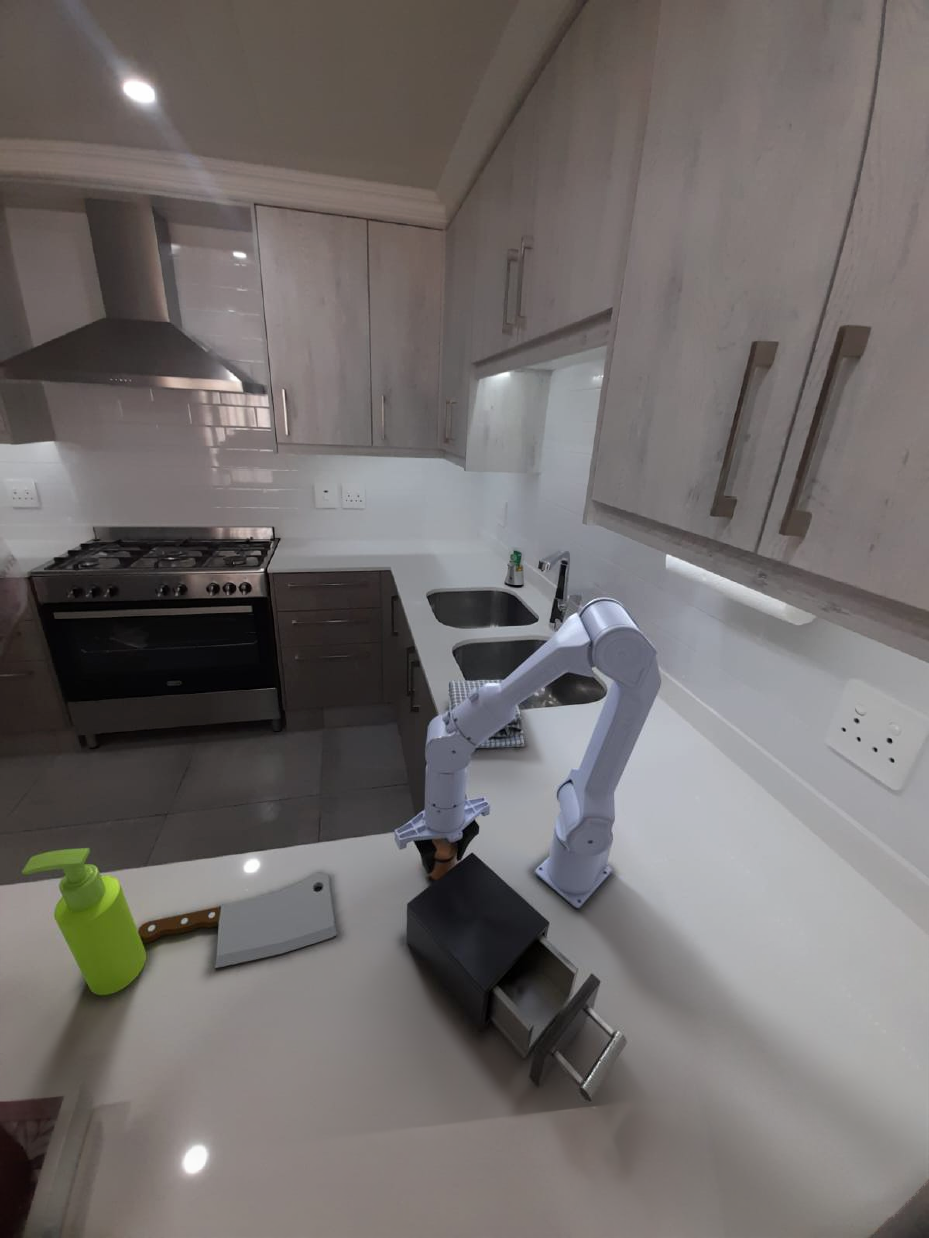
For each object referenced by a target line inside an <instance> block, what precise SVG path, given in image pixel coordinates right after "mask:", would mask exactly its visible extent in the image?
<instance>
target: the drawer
mask: <svg viewBox="0 0 929 1238" xmlns="http://www.w3.org/2000/svg"><path fill="white" fill-rule="evenodd" d="M578 972H579V968H578V967H577V966H576V965H575V964H574V963H573V962H571V961H570V960H569V959H568V958H567V957H566V956H565V955H564V954H563V953H562V952H561V951H560V950H559V949H558V948H556V946H555V945H554V944H553V943H551V942H550V941H549V940H548V938H545V937H544V936H543V935H542V934H541V935H540V936H539V938H538V939H537V940H536V941H535V942H534V943H533V944H532V945H531V946H530V947H529V948H528V950H527V951H526V952H525V953H524V954H523V955H522V956H521V957H520V958H519V959H518V960H517V962H516V963H515V964H514V965H513V966H512V967H511V968H510V969H509V970H508V971H507V972H506V973H505V975H504V976H503V977H502V978H501V979H500V980H499V981H498V982H497V983H496V984H495V985H494V987H493V988H492V989H491V990H490V991H489V995H488V1003H487V1011H486V1015H487V1016H488V1017H489V1018H490V1019H491V1020H490V1021H492V1022H491V1023H493V1024H494V1025H495V1027H496V1028H497V1029H498V1030H499V1032H500V1033H501V1034H502V1035H503V1036H504V1037H505V1038H506V1040H507V1041H508V1042H509V1043H510V1045H512V1047H513V1048H514V1049H515V1050H516V1051H517V1053H518V1054H519V1055H520V1056H521V1058H522V1059H525V1058H526V1057H527V1056H528V1054H529V1053H530V1051H531V1050H532V1049H533V1048H534V1047H535V1048H534V1052H533V1057H532V1062H531V1067H530V1071H529V1075H528V1078H529V1079H530V1080H531V1081H532V1083H533V1084H534V1085H535V1086H536V1087H537V1088H539V1087H540V1086H541V1084H542V1083H543V1081H544V1080H545V1079H546V1077H547V1076H548V1075H549V1073H550V1072H551V1070H552V1069H553V1067H554V1066H555V1064H556V1063H557V1064H558V1065H559V1066H560V1068H561V1069H562V1070H563V1071H564V1072H565V1073H566V1075H567V1076H569V1078H570V1079H571V1080H572V1081H573V1082H574V1083H575V1084H576V1085H577V1087H578V1091H579V1093H580V1095H581V1096H582V1097H583V1099H584V1100H585V1101H586V1102H589V1103H591V1102H592V1100H593V1099H594V1097H595V1096H596V1094H597V1092H598V1091H599V1090H600V1088H601V1086H602V1084H603V1082H604V1081H605V1079H606V1078H607V1076H608V1075H609V1073H610V1071H611V1069H612V1068H613V1067H614V1065H615V1064H616V1062H617V1060H618V1059H619V1057H620V1055H621V1053H622V1052H623V1050H624V1048H625V1047H626V1046H627V1043H628V1042H627V1041H628V1040H627V1039H626V1037H625V1034H623V1032H621V1031H619V1030H615V1029H613V1028H612V1027H611V1026H610V1025H609V1024H608V1023H607V1022H606V1021H605V1020H604V1019H603V1018H602V1017H601V1016H599V1014H598V1013H597V1012H596V1011H595V1010H594V1006H595V1004H596V1000H597V996H598V992H599V989H600V985H601V983H602V982H601V980H600V979H599V978H598V977H597V976H596V975H595V974H594V973H593V972H591V973H590V974H589V976H588V977H587V978H586V980H585V981H584V982H583V983H582V985H581V986H580V987H579V989H578V990H577V991H576V993H575V994H574V996H573V992H574V988H575V984H576V981H577V978H578V977H577V976H578ZM572 996H573V997H572ZM569 1000H570V1001H569ZM566 1004H567V1005H566ZM563 1008H564V1009H563ZM561 1011H562V1012H561ZM560 1012H561V1013H560ZM559 1013H560V1014H559ZM557 1016H558V1017H557ZM556 1017H557V1018H556ZM588 1018H590V1020H592V1021H593V1022H594V1023H595V1024H596V1025H597V1027H599V1028H600V1029H601V1031H603V1032H604V1033H605V1034H606V1035H607V1036H608V1037H609V1038H610V1039H609V1040H608V1042H607V1043H606V1044H605V1046H604V1048H603V1049H602V1051H601V1052H600V1054H599V1055H598V1057H597V1058H596V1060H595V1061H594V1063H593V1065H592V1066H591V1067H590V1070H589V1071H588V1073H586V1076H585V1077H584V1078H583V1077H582V1076H581V1075H580V1074H579V1072H578V1071H577V1070H575V1068H574V1067H573V1066H572V1065H571V1064H570V1063H569V1062H568V1061H567V1060H566V1058H565V1057H564V1056H563V1054H564V1052H565V1051H566V1049H567V1048H568V1046H569V1045H570V1044H571V1042H572V1040H573V1039H574V1038H575V1036H576V1035H577V1033H579V1031H580V1030H581V1028H582V1027H583V1025H584V1023H585V1022H586V1021H587V1020H588ZM554 1020H555V1021H554ZM553 1021H554V1022H553ZM551 1024H552V1025H551ZM550 1025H551V1026H550ZM547 1029H548V1030H547ZM542 1036H543V1037H542ZM540 1038H541V1039H540ZM536 1043H537V1044H536ZM535 1045H536V1046H535Z"/></svg>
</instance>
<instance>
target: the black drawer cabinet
mask: <svg viewBox="0 0 929 1238" xmlns="http://www.w3.org/2000/svg"><path fill="white" fill-rule="evenodd" d="M549 928H550V921H549V920H548V919H546V918H545V916H543V915H542V914H541V913H540V912H539V911H538V910H537V909H536V908H534V907H533V906H532V905H531V904H530V903H529V902H528V901H527V900H526V899H524V898H523V897H522V896H521V895H520V893H518V892H517V891H516V890H515V889H513V887H512V886H510V885H509V884H508V883H507V882H506V881H505V880H503V878H502V877H500V876H499V875H498V874H497V873H496V872H495V871H494V870H493V869H491V867H489V866H488V864H486V863H485V862H484V861H483V860H481V858H479V857H478V856H477V854H475V853H474V852H473V851H472V852H471V853H469V854H468V855H466V857H464V858H462V859H461V860H460V861H458V863H457V864H456V865H455V866H454V867H453V868H451V869H450V870H449V871H448V872H446V873H445V874H444V875H443V876H441V877H440V878H439V879H438V880H434V882H432V883H431V884H430V885H429V886H427V887H426V888H425V889H424V890H422V891H421V892H420V893H418V894H417V895H416V896H415V897H414V898H412V899H411V900H410V901H408V902H407V903H406V944H407V945H408V946H409V947H410V948H411V950H412V951H413V952H414V953H415V955H417V957H418V958H419V960H420V961H421V962H422V963H423V964H424V965H425V967H426V968H427V969H428V970H429V972H430V973H431V974H432V975H433V977H434V978H435V979H436V981H438V983H439V984H440V986H442V987H443V989H444V990H445V991H446V993H448V995H449V996H450V998H451V999H452V1000H453V1001H454V1002H455V1004H456V1005H457V1006H458V1007H459V1008H460V1009H461V1011H462V1012H463V1013H464V1014H465V1016H466V1017H467V1019H468V1020H469V1021H470V1022H471V1023H472V1025H473V1026H474V1027H475V1028H476V1030H477V1031H478V1032H480V1033H481V1032H482V1030H483V1029H485V1027H486V1026H487V1025H488V1024H489V1023H490V1021H491V1019H490V1018H489V1017H488V1016H487V1015H486V1011H487V1003H488V995H489V991H490V990H491V989H492V988H493V987H494V985H495V984H496V983H497V982H498V981H499V980H500V979H501V978H502V977H503V976H504V975H505V973H506V972H507V971H508V970H509V969H510V968H511V967H512V966H513V965H514V964H515V963H516V962H517V960H518V959H519V958H520V957H521V956H522V955H523V954H524V953H525V952H526V951H527V950H528V948H529V947H530V946H531V945H532V944H533V943H534V942H535V941H536V940H537V939H538V938H539V936H540V935H541V934H542V935H543V936H544V937H545V938H546V939H548V938H547V937H548V933H549Z"/></svg>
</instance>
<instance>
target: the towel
mask: <svg viewBox="0 0 929 1238" xmlns="http://www.w3.org/2000/svg"><path fill="white" fill-rule="evenodd" d="M504 680H505V679H478V680H450V681H449V683H448V692H449V693H448V703H449V704H448V705H449V706H448V711H449V712H451V711H452V710H453V709H455V708H456V707H457V706H458V705H459V704H461V703H462V702H463V701H464V700H466V699H467V698H468V692H469V691H470V690H472V689H473V688H474V687H476V688H477V689H479V688H481V687H482V686H483V685H484V684H486V683H501V682H502V681H504ZM522 721H524V718H523V716H522V712H521V710H520V707H519V704H518V705H517V706H516V709H515V718H514V719H513V720H512V721H511V722H509V723H508V724H507V725H505V726H504V727H503V728H502V729H500V730H499V731H498V732H496V733H495V734H494V735H492V736H491V737H490V738H488V739H487V740H486V741H484V742H483V743H482V744H480V745H479V746H478V747H476V748H475V749H479V748H480V749H484V748H485V749H489V748H490V749H491V748H492V749H493V748H510V747H512V748H513V747H516V748H519V747H520V748H523V747H525V745H526V743H525V738H524V734H525V733H524V730H523V723H522Z"/></svg>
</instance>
